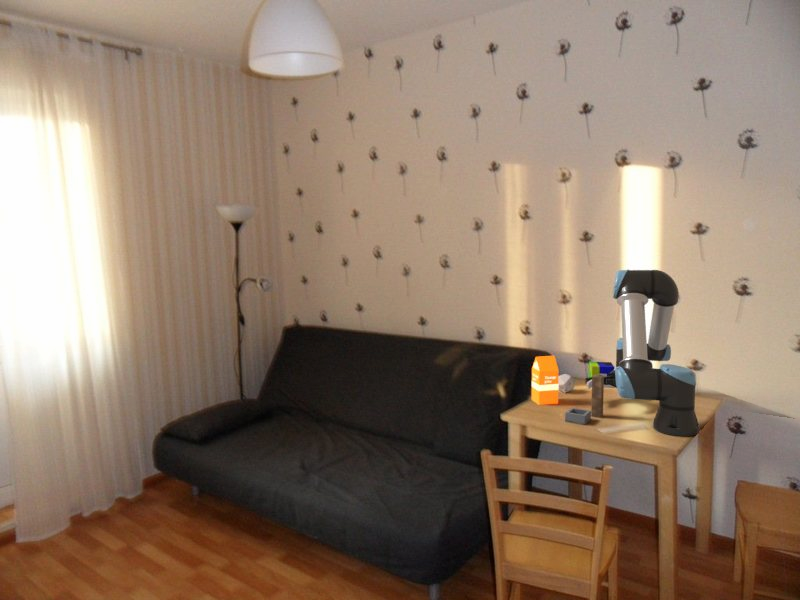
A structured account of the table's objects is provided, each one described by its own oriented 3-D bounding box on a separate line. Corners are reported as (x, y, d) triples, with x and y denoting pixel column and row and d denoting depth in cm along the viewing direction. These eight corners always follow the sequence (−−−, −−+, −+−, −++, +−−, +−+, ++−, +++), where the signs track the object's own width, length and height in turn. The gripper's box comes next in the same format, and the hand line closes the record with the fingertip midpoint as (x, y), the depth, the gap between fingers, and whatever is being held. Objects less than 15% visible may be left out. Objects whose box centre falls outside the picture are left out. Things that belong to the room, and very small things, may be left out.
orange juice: (531, 399, 245) (531, 354, 242) (550, 398, 246) (550, 353, 244) (539, 405, 237) (539, 358, 235) (558, 403, 239) (559, 357, 236)
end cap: (590, 419, 217) (591, 410, 217) (584, 424, 211) (584, 415, 211) (571, 416, 222) (571, 407, 221) (565, 421, 216) (565, 412, 215)
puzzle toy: (614, 388, 261) (614, 367, 260) (591, 387, 263) (591, 366, 262) (610, 382, 271) (610, 362, 270) (588, 381, 273) (589, 361, 272)
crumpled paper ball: (553, 394, 254) (565, 380, 249) (550, 381, 261) (561, 367, 256) (569, 399, 256) (580, 385, 251) (565, 386, 263) (576, 372, 258)
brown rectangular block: (602, 415, 222) (603, 376, 220) (600, 417, 219) (601, 378, 217) (594, 414, 224) (594, 374, 222) (591, 416, 221) (592, 376, 219)
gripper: (648, 390, 238) (636, 402, 221) (589, 381, 253) (573, 392, 236) (649, 372, 237) (636, 383, 220) (590, 365, 252) (574, 375, 235)
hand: (604, 388), depth 228 cm, fingers open, 13 cm apart
